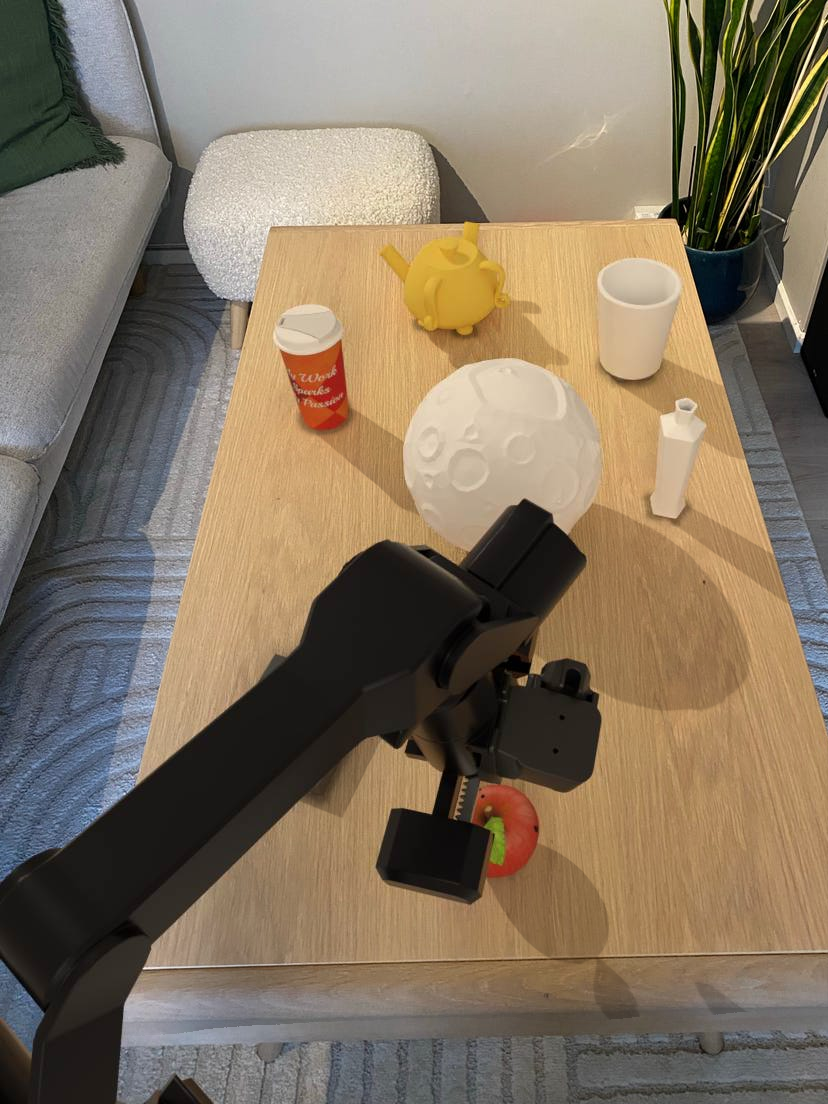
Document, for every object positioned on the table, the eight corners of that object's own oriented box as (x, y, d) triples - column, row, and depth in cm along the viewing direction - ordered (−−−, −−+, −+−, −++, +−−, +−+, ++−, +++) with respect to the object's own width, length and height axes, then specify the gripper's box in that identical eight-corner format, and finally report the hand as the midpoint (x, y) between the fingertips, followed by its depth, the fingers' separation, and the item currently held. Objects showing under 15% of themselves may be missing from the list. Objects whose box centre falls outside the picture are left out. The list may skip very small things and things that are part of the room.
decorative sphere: (630, 556, 95) (650, 424, 81) (451, 623, 90) (439, 494, 76) (548, 434, 107) (554, 300, 93) (387, 486, 103) (366, 353, 88)
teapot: (477, 269, 130) (474, 199, 122) (521, 323, 121) (521, 252, 113) (383, 298, 126) (373, 228, 118) (421, 356, 117) (414, 285, 109)
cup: (586, 341, 118) (592, 258, 109) (661, 337, 119) (674, 254, 109) (595, 393, 112) (603, 310, 102) (675, 389, 112) (690, 306, 102)
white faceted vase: (657, 526, 98) (676, 427, 87) (639, 497, 100) (655, 397, 89) (696, 515, 98) (719, 415, 87) (677, 486, 101) (697, 386, 90)
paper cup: (285, 433, 109) (261, 342, 98) (304, 389, 114) (283, 298, 103) (349, 439, 108) (331, 348, 97) (365, 395, 113) (350, 304, 102)
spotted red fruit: (443, 828, 77) (435, 778, 69) (516, 794, 78) (516, 742, 71) (481, 918, 72) (477, 874, 64) (558, 879, 74) (563, 833, 66)
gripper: (554, 902, 45) (571, 945, 58) (613, 568, 55) (616, 668, 67) (343, 852, 48) (404, 904, 60) (435, 542, 57) (470, 643, 70)
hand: (481, 772), depth 64 cm, fingers open, 9 cm apart
